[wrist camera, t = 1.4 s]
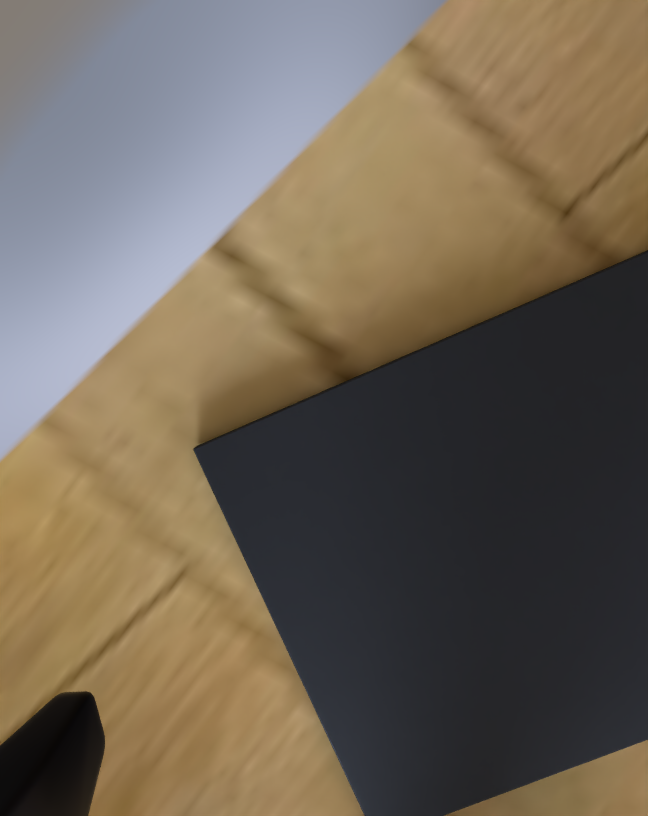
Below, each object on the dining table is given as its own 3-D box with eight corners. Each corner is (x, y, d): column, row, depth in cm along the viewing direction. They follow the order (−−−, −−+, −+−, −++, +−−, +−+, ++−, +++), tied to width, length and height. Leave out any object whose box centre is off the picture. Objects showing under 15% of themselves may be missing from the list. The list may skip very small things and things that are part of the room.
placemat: (861, 649, 22) (874, 656, 22) (375, 831, 24) (376, 841, 23) (711, 222, 21) (721, 219, 20) (195, 446, 22) (192, 448, 21)
